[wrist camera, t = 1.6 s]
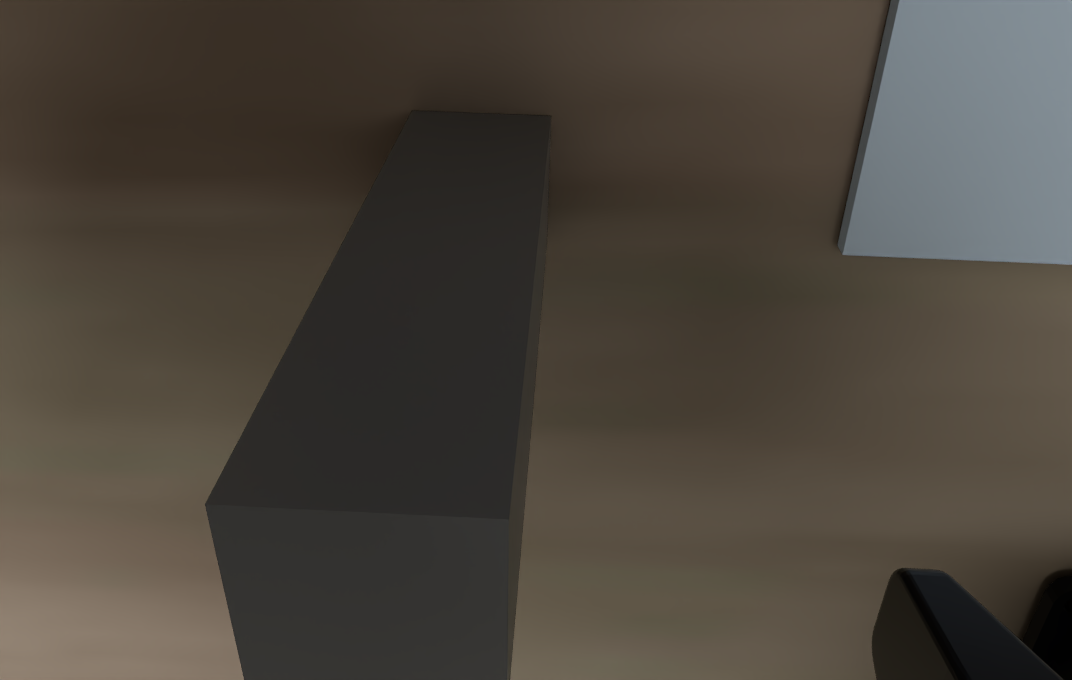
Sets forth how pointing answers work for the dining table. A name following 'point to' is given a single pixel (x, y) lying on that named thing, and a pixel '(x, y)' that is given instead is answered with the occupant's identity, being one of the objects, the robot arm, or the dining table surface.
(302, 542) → the dark gray rectangular block
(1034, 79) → the pad
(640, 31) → the dining table surface
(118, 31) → the dining table surface
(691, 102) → the dining table surface
